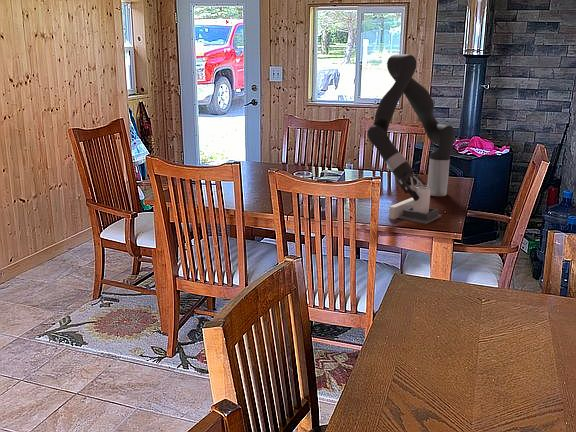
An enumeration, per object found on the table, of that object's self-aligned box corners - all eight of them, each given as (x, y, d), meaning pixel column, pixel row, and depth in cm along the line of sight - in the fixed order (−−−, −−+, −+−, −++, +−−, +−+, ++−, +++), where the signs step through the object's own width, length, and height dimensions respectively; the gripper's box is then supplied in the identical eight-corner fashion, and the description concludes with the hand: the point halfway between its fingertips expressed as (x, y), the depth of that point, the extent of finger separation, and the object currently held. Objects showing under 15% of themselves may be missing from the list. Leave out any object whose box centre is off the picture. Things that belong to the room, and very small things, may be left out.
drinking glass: (336, 208, 248) (337, 180, 244) (327, 213, 239) (328, 185, 236) (315, 204, 252) (316, 178, 249) (305, 210, 244) (306, 182, 240)
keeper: (415, 211, 245) (415, 203, 244) (441, 216, 237) (442, 208, 236) (399, 218, 234) (399, 210, 233) (426, 224, 227) (426, 216, 226)
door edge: (411, 208, 249) (412, 197, 247) (416, 209, 247) (417, 198, 246) (388, 218, 234) (389, 206, 232) (393, 219, 232) (394, 207, 231)
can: (428, 217, 232) (430, 189, 229) (412, 216, 234) (414, 188, 230) (428, 213, 238) (430, 185, 235) (412, 212, 240) (414, 184, 236)
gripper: (397, 163, 229) (421, 195, 226) (413, 158, 240) (436, 189, 236) (384, 174, 234) (408, 206, 230) (401, 169, 245) (423, 199, 241)
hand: (422, 197), depth 233 cm, fingers open, 8 cm apart
